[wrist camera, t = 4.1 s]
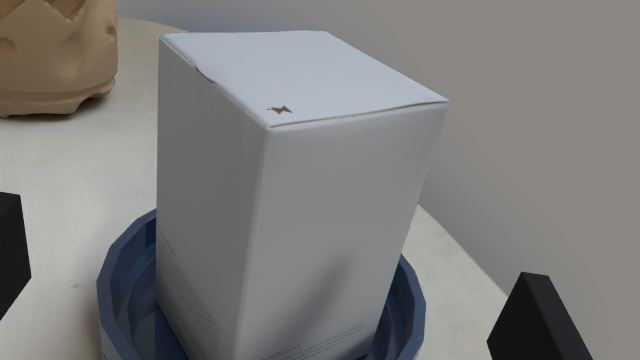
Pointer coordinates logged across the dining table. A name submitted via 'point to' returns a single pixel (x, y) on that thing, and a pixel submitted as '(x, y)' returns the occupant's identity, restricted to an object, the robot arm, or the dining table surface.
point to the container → (55, 54)
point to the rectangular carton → (283, 191)
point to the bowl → (161, 342)
